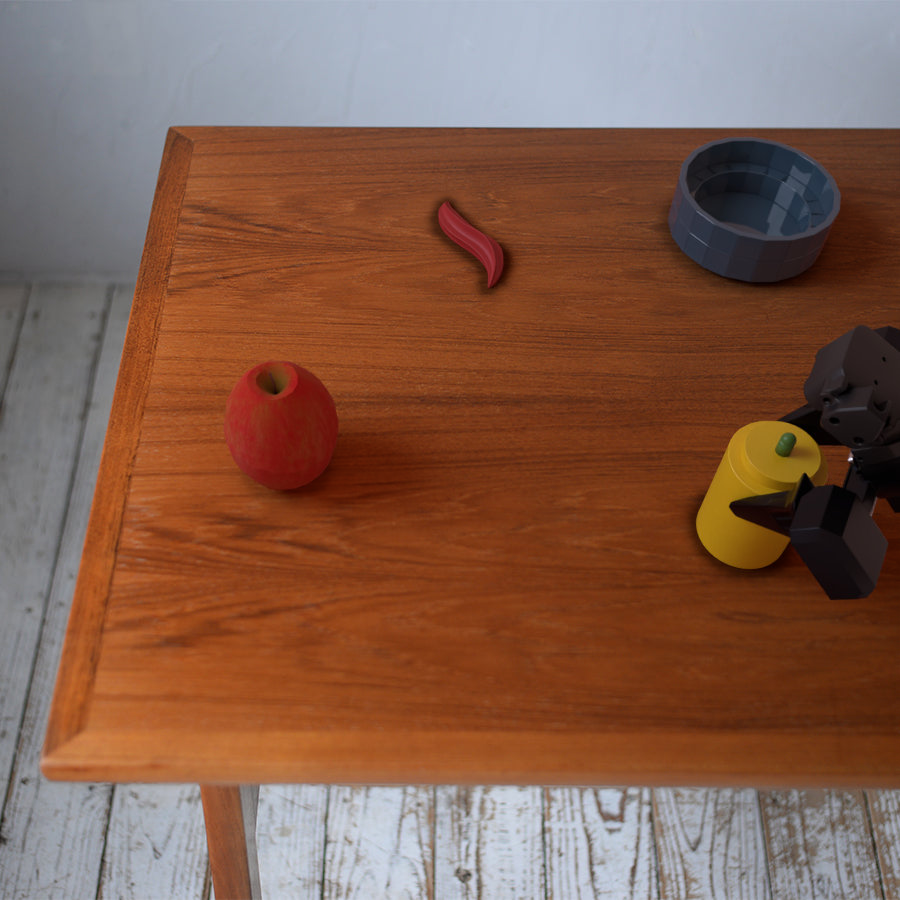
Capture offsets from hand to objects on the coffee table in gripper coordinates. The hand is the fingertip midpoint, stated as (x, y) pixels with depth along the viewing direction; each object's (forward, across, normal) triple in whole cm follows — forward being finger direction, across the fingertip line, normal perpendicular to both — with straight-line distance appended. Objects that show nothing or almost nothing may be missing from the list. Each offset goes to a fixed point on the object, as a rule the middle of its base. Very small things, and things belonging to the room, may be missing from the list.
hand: (747, 471), depth 66 cm
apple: (+27, +11, -17) cm, 34 cm away
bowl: (+11, -32, -1) cm, 33 cm away
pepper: (+4, 0, +6) cm, 7 cm away
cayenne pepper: (+26, -18, -16) cm, 36 cm away
